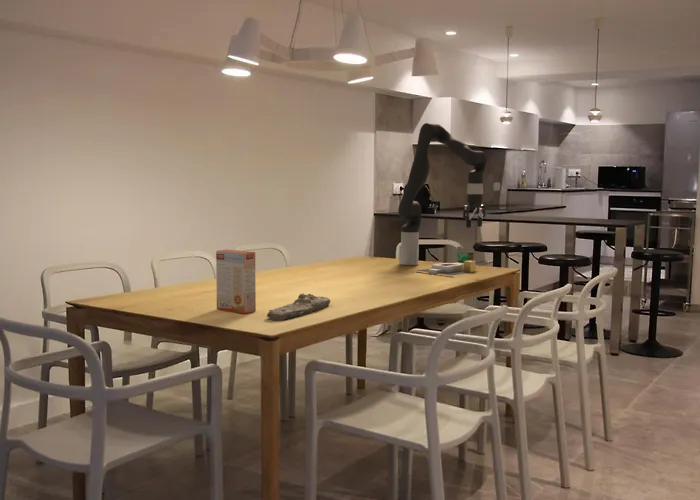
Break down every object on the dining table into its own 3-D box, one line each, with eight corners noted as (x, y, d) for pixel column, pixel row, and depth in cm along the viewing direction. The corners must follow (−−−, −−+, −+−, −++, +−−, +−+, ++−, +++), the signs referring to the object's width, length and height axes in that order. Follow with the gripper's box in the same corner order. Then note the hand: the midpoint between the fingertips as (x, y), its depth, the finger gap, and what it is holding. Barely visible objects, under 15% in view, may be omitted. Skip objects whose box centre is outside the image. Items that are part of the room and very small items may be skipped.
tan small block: (463, 271, 349) (463, 261, 348) (468, 270, 352) (469, 260, 351) (470, 272, 346) (470, 261, 345) (475, 271, 349) (475, 261, 348)
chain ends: (424, 271, 346) (424, 265, 346) (454, 268, 361) (454, 262, 360) (439, 274, 339) (439, 267, 339) (469, 270, 354) (469, 263, 354)
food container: (450, 265, 378) (451, 246, 377) (460, 265, 380) (461, 246, 379) (463, 268, 367) (464, 249, 366) (474, 268, 369) (474, 248, 368)
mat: (416, 272, 351) (416, 270, 351) (443, 268, 365) (443, 267, 365) (451, 277, 335) (451, 275, 335) (478, 273, 349) (478, 271, 349)
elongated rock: (259, 323, 237) (284, 328, 233) (259, 308, 236) (285, 312, 232) (313, 301, 268) (336, 305, 263) (313, 287, 267) (337, 291, 263)
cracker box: (256, 312, 249) (256, 251, 247) (243, 314, 244) (243, 253, 242) (229, 307, 258) (228, 248, 255) (216, 309, 253) (215, 250, 251)
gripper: (477, 192, 353) (476, 226, 354) (459, 193, 343) (458, 227, 345) (490, 193, 347) (489, 226, 349) (472, 193, 337) (471, 228, 339)
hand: (474, 227), depth 347 cm, fingers open, 8 cm apart
